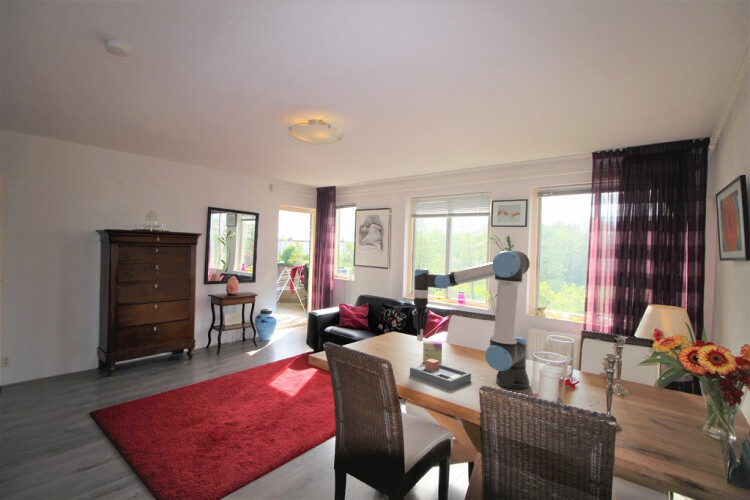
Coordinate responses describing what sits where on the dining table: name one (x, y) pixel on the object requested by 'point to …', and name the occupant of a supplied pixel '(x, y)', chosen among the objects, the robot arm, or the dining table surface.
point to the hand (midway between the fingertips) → (419, 340)
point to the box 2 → (442, 376)
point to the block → (432, 364)
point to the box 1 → (432, 351)
